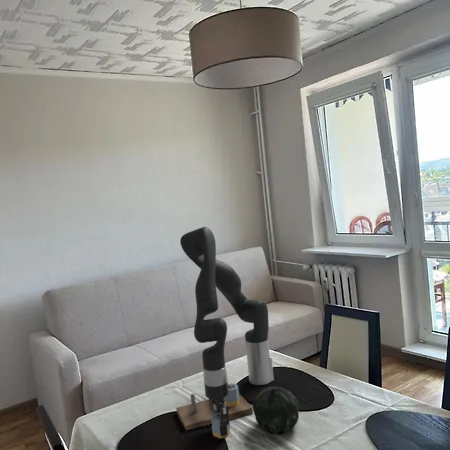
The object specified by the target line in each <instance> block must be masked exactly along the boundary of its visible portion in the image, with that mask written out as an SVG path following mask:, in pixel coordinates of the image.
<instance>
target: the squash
mask: <svg viewBox="0 0 450 450" xmlns="http://www.w3.org/2000/svg"><path fill="white" fill-rule="evenodd" d="M252 410H253V415H254V417H255V421H256V422H257V424H258V425H259V426H260V427H261V428H263V429H265V430H267V431H268V430H270V431H271V433H272V434H275V435H276V434H278V433H279V432H281V433H286V432H288V431H289V429H292V428H293V427H295V426H296V425H297V423H298V422H299V416H300V415H299V411H300V405H299V401H298V399H297V397H296V396H295V395H294V394H293V393H292V392H291V391H289V390H287V389H286V388H283V387H281V386H277V385H276V386H275V385H274V386H269V387H265V388H263V389H262V390H261V392H259V394H257V395H256V397H255V399H254V400H253V403H252Z"/></svg>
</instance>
